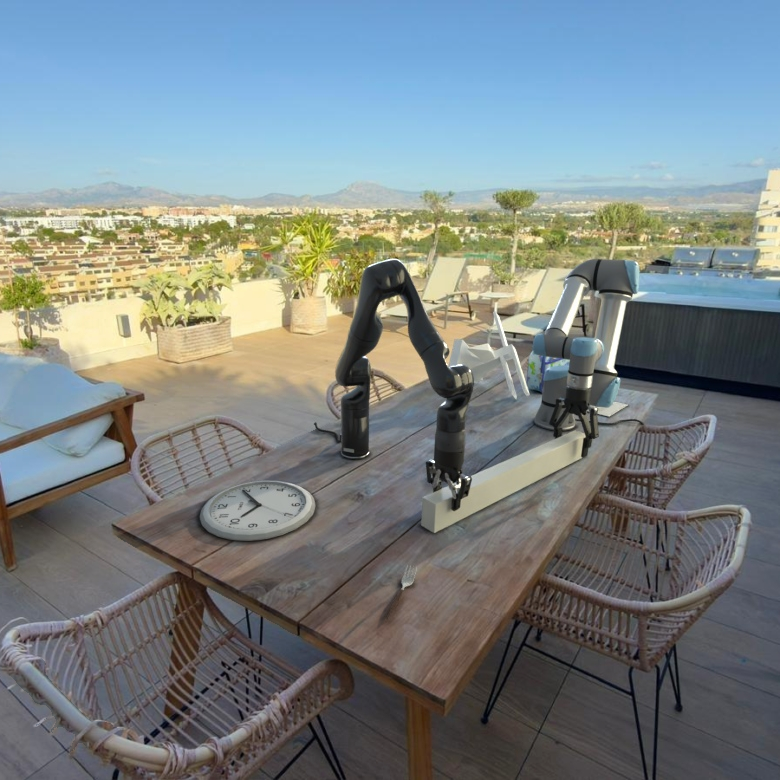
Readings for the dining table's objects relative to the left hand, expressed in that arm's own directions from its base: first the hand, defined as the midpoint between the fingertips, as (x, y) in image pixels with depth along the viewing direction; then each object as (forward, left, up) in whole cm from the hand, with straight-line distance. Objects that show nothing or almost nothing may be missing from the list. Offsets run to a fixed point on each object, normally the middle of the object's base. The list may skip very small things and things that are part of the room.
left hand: (446, 504), depth 135 cm
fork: (+26, -18, -5) cm, 32 cm away
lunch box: (-106, +83, -5) cm, 135 cm away
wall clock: (-14, -48, -5) cm, 50 cm away
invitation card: (-77, +94, -5) cm, 122 cm away
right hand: (-30, +52, -2) cm, 60 cm away
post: (-15, +26, -5) cm, 30 cm away
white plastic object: (-105, +48, -5) cm, 116 cm away
